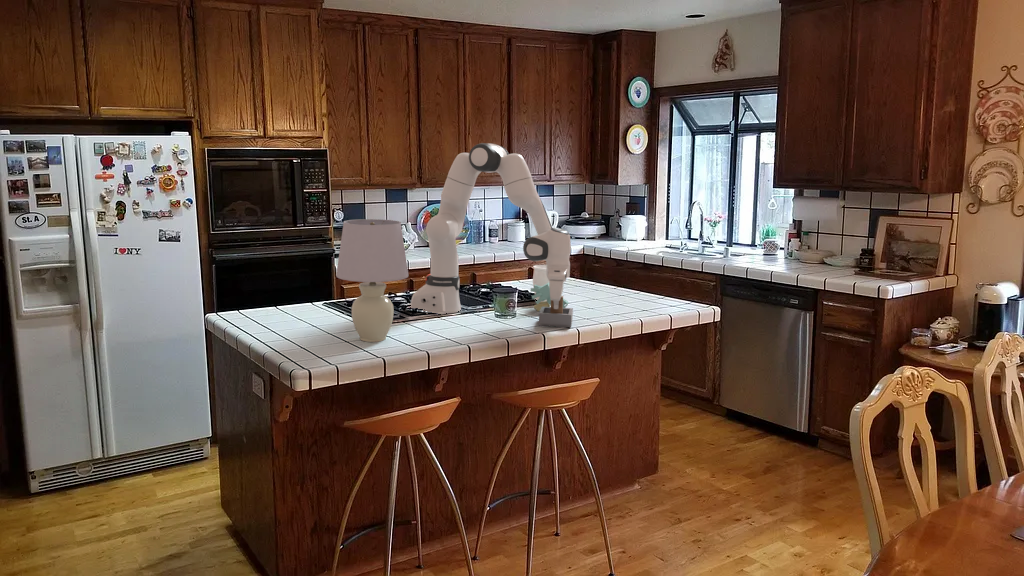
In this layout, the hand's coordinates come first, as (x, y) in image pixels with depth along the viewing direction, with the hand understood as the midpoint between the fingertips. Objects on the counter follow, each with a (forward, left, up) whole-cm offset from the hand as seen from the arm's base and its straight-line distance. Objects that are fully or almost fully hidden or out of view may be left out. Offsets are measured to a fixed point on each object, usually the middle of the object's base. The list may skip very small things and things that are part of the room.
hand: (556, 307), depth 296 cm
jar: (-8, +43, -6) cm, 44 cm away
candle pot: (0, 0, -6) cm, 6 cm away
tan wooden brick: (0, 0, -4) cm, 4 cm away
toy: (-4, +23, -6) cm, 24 cm away
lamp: (-60, -38, -6) cm, 71 cm away
